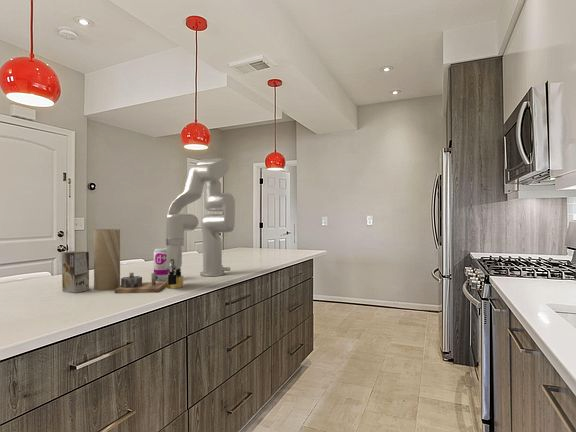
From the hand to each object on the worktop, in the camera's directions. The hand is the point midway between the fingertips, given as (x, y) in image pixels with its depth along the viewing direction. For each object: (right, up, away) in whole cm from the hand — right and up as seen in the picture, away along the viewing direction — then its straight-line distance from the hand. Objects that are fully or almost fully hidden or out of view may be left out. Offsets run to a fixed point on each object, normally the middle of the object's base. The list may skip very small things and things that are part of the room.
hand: (174, 282), depth 155 cm
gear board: (-13, -2, -4) cm, 13 cm away
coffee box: (-39, -2, -7) cm, 40 cm away
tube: (-28, -2, -2) cm, 29 cm away
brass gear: (0, -2, 0) cm, 2 cm away
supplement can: (-11, -2, +17) cm, 21 cm away
